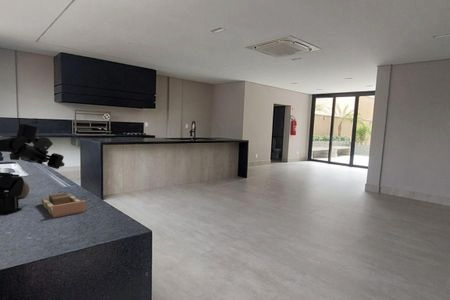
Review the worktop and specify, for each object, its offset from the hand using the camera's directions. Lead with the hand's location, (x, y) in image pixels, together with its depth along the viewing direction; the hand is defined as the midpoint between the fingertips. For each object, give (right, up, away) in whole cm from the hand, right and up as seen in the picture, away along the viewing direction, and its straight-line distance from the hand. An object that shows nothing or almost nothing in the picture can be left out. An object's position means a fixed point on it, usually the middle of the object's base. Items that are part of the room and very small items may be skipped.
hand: (55, 163), depth 127 cm
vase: (-14, -16, -4) cm, 21 cm away
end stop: (+20, -18, -24) cm, 36 cm away
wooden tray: (+13, -17, -16) cm, 27 cm away
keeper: (+9, -17, -12) cm, 23 cm away
